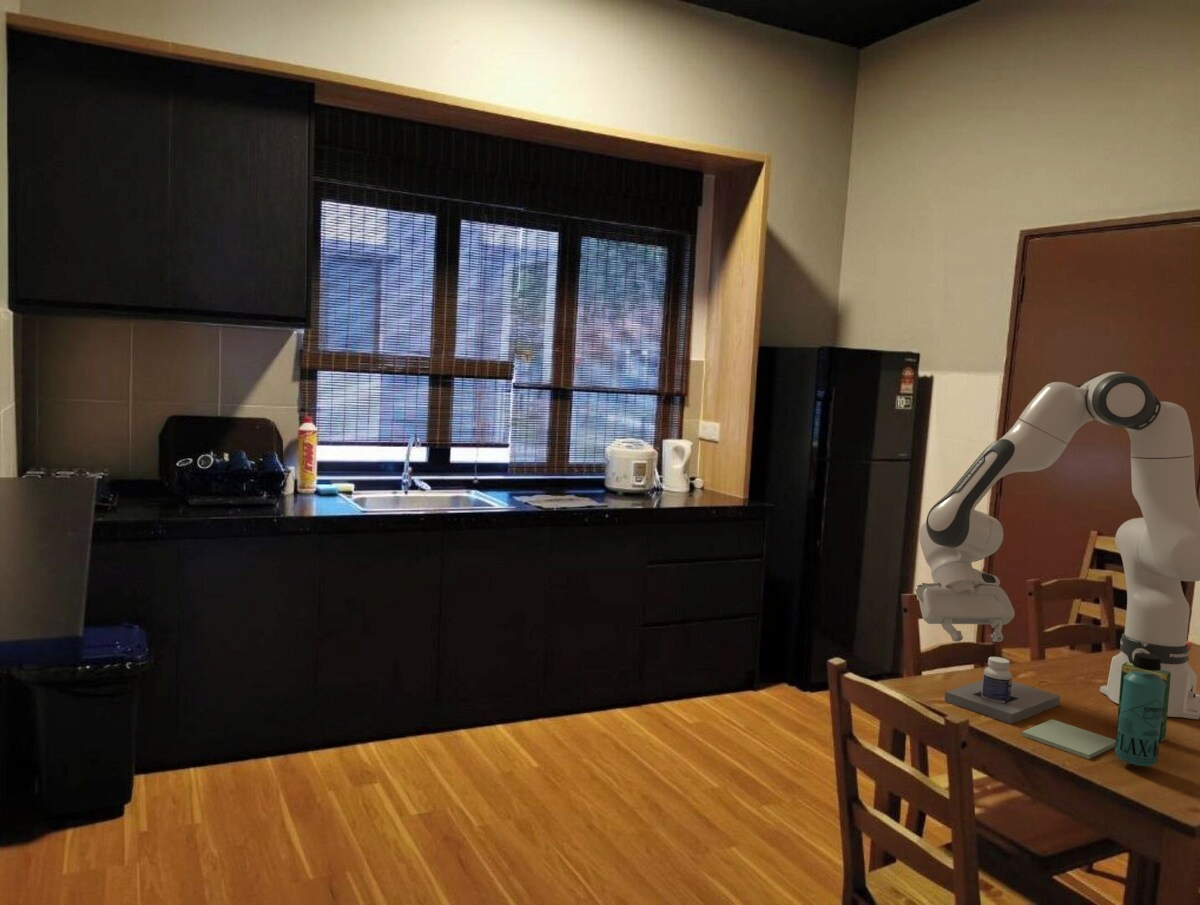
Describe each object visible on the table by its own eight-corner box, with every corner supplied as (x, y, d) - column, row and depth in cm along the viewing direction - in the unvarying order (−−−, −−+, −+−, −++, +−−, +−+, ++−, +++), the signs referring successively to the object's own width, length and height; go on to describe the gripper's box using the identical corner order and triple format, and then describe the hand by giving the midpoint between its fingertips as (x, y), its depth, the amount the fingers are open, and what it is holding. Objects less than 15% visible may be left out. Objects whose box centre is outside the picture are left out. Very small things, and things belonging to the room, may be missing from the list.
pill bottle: (1012, 712, 179) (1016, 665, 178) (983, 709, 180) (988, 662, 179) (1005, 703, 184) (1010, 657, 183) (978, 699, 185) (982, 654, 184)
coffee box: (1113, 729, 173) (1120, 663, 172) (1118, 725, 175) (1125, 660, 174) (1161, 743, 167) (1168, 674, 166) (1165, 739, 169) (1173, 671, 168)
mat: (1051, 723, 174) (1052, 719, 174) (1117, 745, 165) (1117, 740, 165) (1021, 735, 167) (1021, 731, 167) (1088, 759, 157) (1089, 755, 157)
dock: (994, 684, 196) (995, 675, 195) (1059, 705, 185) (1060, 695, 184) (944, 701, 183) (945, 691, 183) (1011, 724, 172) (1012, 714, 172)
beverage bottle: (1104, 761, 157) (1116, 650, 155) (1130, 757, 159) (1142, 647, 158) (1139, 777, 151) (1152, 662, 149) (1165, 772, 153) (1178, 659, 152)
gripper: (919, 575, 193) (940, 632, 184) (1004, 577, 196) (1029, 633, 188) (907, 590, 197) (926, 647, 189) (990, 592, 201) (1013, 647, 192)
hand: (978, 640), depth 188 cm, fingers open, 8 cm apart
